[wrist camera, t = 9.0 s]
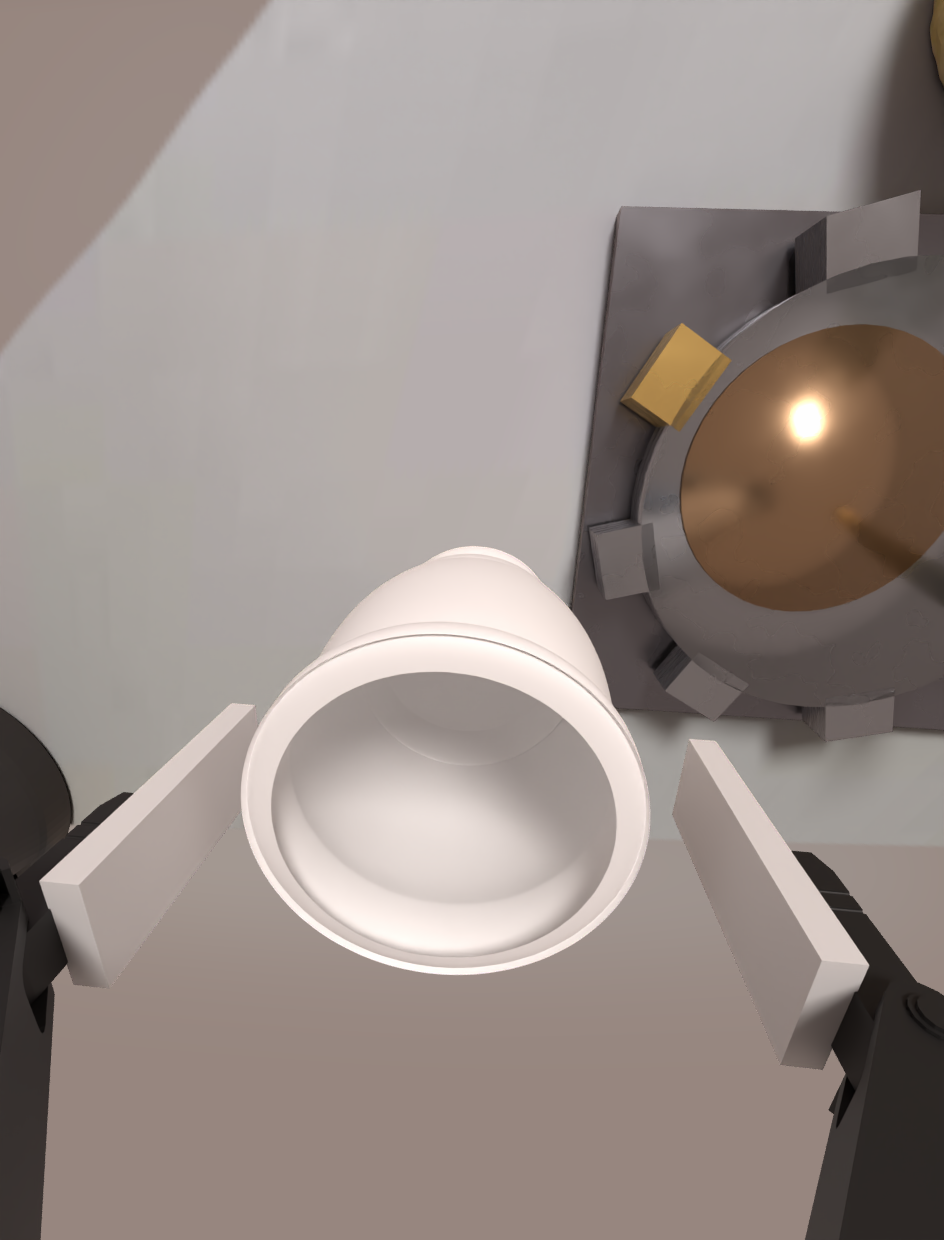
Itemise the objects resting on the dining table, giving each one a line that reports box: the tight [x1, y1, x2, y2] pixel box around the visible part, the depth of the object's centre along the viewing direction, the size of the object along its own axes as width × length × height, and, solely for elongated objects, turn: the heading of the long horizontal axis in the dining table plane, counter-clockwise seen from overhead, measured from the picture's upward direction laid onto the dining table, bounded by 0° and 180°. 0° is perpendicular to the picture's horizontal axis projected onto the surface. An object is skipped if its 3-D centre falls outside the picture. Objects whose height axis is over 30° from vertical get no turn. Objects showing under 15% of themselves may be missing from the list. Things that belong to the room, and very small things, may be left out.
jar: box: [241, 546, 650, 975], centre depth 19 cm, size 11×10×15 cm
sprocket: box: [589, 190, 944, 742], centre depth 19 cm, size 22×22×8 cm
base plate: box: [571, 206, 944, 730], centre depth 23 cm, size 22×22×1 cm
